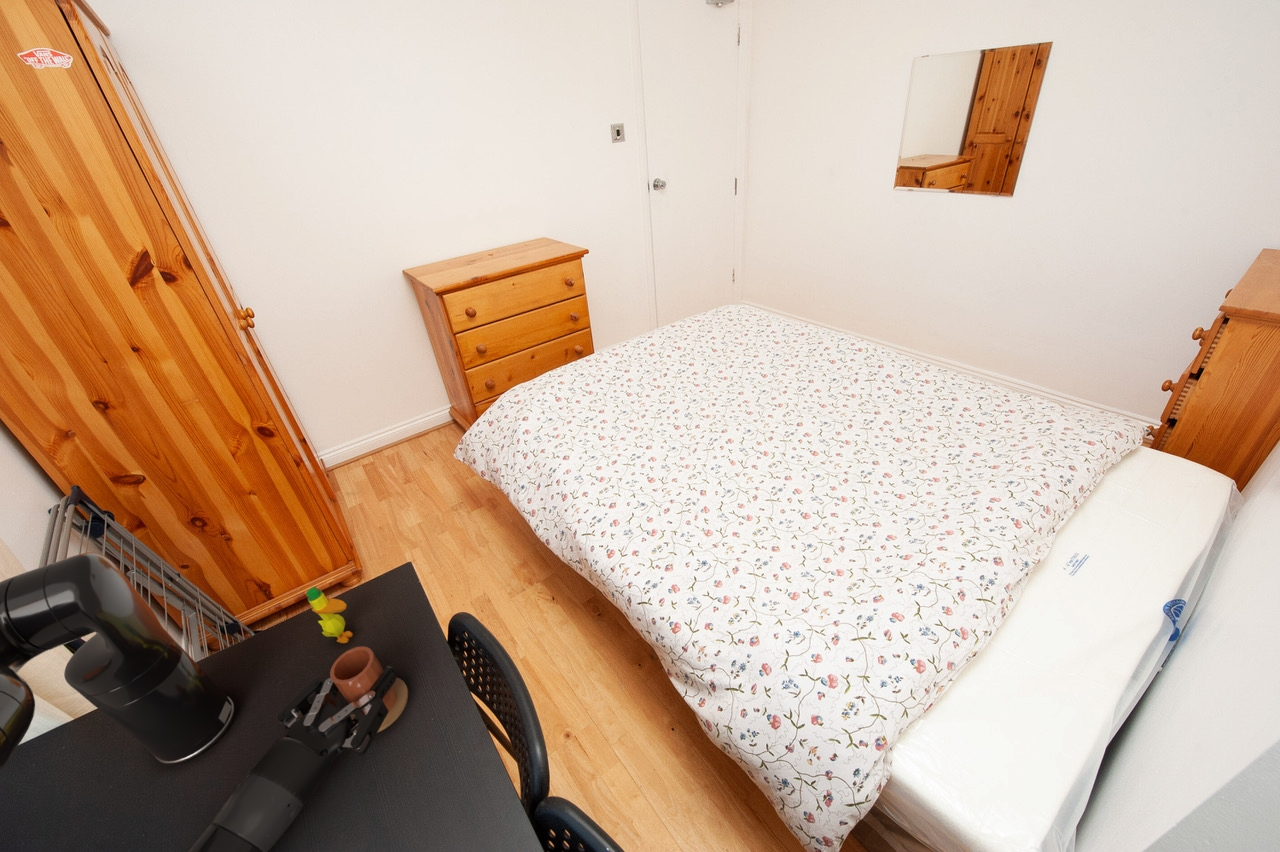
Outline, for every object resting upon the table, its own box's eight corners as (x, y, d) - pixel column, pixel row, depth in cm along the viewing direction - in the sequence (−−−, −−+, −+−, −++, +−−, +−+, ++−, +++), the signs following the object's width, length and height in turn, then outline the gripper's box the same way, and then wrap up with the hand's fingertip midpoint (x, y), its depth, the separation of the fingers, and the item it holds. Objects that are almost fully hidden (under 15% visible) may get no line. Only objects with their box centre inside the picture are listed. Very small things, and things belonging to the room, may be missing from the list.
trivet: (334, 726, 72) (332, 724, 71) (376, 672, 78) (374, 670, 78) (381, 742, 69) (379, 740, 69) (420, 685, 76) (419, 683, 76)
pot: (349, 717, 72) (320, 677, 67) (376, 682, 76) (351, 642, 71) (379, 727, 70) (352, 687, 65) (404, 691, 75) (381, 651, 69)
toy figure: (370, 629, 85) (342, 582, 79) (358, 648, 82) (328, 601, 76) (334, 628, 86) (304, 581, 80) (321, 647, 83) (288, 600, 77)
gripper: (305, 798, 55) (407, 660, 68) (213, 760, 59) (326, 637, 72) (333, 826, 59) (424, 691, 72) (245, 789, 63) (346, 667, 76)
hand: (375, 664), depth 72 cm, fingers open, 5 cm apart
